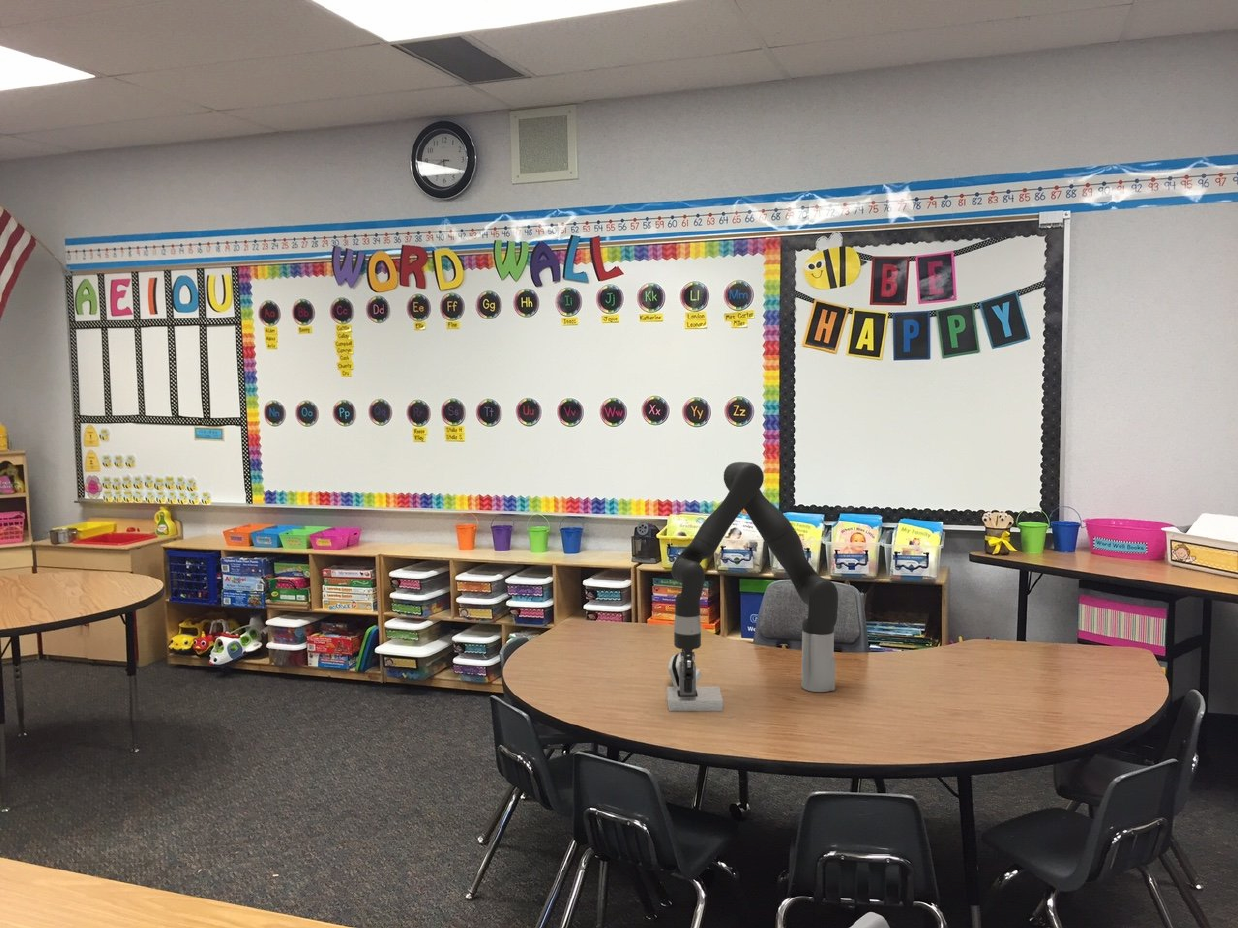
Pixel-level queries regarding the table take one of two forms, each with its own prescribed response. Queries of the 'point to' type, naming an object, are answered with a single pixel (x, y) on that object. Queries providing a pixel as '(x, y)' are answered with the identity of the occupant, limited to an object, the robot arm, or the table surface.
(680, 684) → the square peg
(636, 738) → the table surface
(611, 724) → the table surface
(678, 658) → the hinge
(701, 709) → the square hole plate
